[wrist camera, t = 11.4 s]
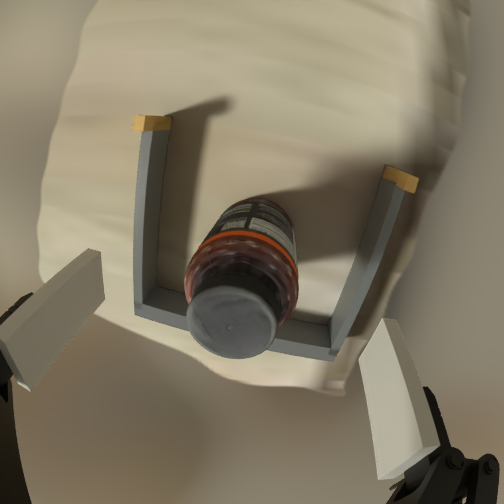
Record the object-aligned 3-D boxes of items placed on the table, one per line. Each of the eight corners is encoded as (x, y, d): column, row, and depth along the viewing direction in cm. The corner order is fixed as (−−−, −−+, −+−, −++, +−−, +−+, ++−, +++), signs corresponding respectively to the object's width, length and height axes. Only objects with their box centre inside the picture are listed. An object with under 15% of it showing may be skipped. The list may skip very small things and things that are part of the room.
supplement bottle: (252, 281, 24) (227, 389, 14) (202, 228, 22) (137, 313, 12) (311, 239, 22) (327, 339, 11) (260, 179, 20) (231, 234, 10)
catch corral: (162, 116, 19) (134, 115, 15) (394, 167, 19) (418, 178, 15) (148, 296, 26) (127, 324, 22) (330, 339, 25) (334, 373, 21)
